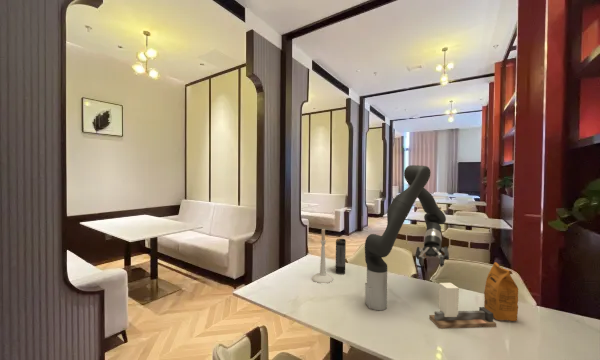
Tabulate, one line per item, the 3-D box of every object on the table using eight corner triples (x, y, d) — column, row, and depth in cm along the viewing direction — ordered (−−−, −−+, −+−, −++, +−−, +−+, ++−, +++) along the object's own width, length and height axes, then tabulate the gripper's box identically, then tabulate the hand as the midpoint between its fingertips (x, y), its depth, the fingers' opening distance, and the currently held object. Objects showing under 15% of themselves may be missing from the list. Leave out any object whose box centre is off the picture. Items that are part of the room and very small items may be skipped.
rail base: (439, 328, 101) (439, 316, 100) (429, 318, 108) (429, 306, 107) (496, 326, 102) (496, 314, 102) (482, 317, 109) (483, 305, 109)
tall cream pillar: (446, 318, 102) (446, 288, 101) (438, 311, 107) (439, 282, 106) (458, 317, 102) (458, 288, 102) (450, 311, 107) (450, 282, 107)
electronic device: (345, 274, 154) (345, 242, 154) (335, 273, 155) (335, 242, 155) (345, 269, 163) (345, 238, 163) (336, 268, 165) (336, 238, 164)
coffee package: (504, 309, 116) (506, 262, 115) (521, 324, 104) (522, 272, 103) (480, 306, 118) (481, 260, 118) (493, 321, 106) (494, 269, 106)
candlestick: (335, 283, 141) (335, 231, 141) (312, 283, 141) (312, 230, 141) (332, 274, 154) (332, 226, 154) (311, 274, 154) (312, 226, 154)
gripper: (416, 235, 131) (412, 259, 120) (446, 233, 122) (445, 259, 111) (420, 245, 134) (417, 270, 123) (450, 244, 125) (450, 271, 114)
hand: (430, 265), depth 117 cm, fingers open, 8 cm apart
